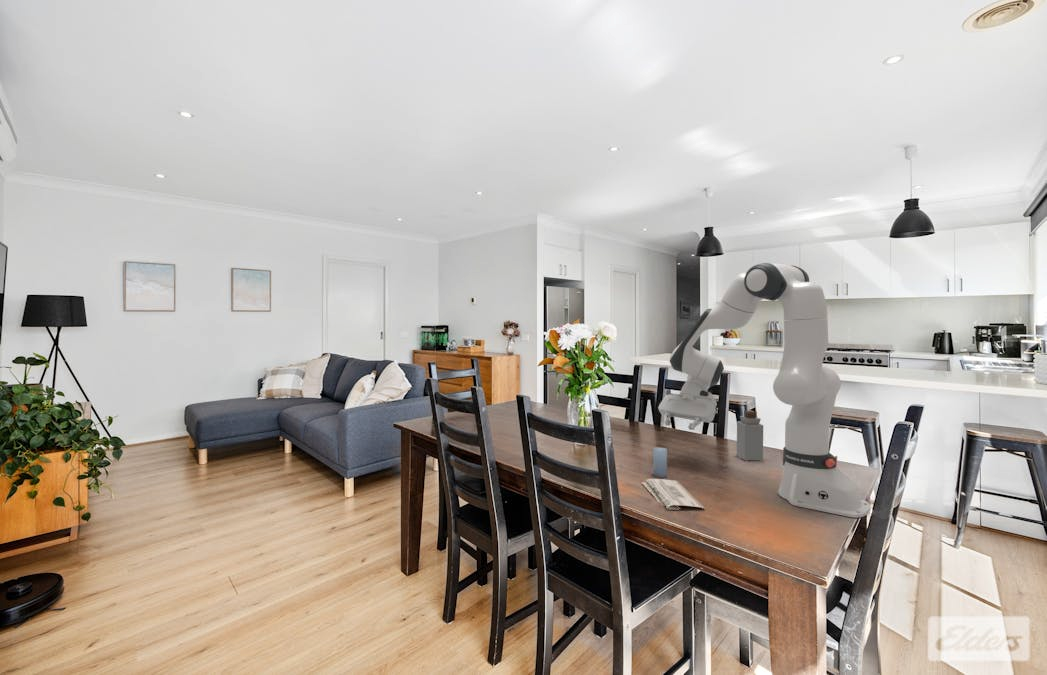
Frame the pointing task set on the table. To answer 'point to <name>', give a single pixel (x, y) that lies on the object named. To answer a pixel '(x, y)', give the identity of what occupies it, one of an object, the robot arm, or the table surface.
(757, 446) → the perfume bottle
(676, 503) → the newspaper
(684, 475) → the table surface
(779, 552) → the table surface
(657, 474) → the blue peg
